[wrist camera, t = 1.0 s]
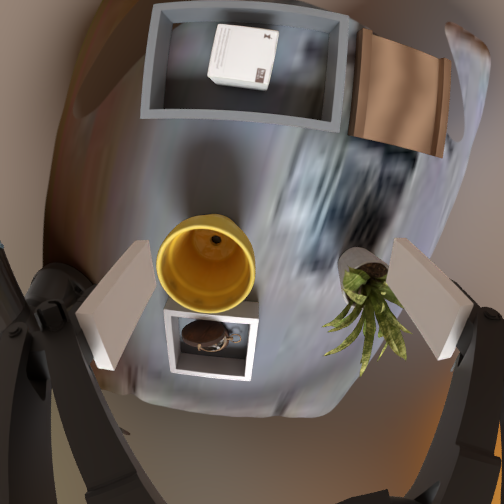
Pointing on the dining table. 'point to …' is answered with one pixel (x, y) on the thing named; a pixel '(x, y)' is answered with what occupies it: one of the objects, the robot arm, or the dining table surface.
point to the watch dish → (209, 364)
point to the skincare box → (243, 56)
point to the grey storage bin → (232, 10)
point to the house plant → (367, 303)
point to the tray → (399, 95)
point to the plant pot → (206, 264)
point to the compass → (207, 335)
